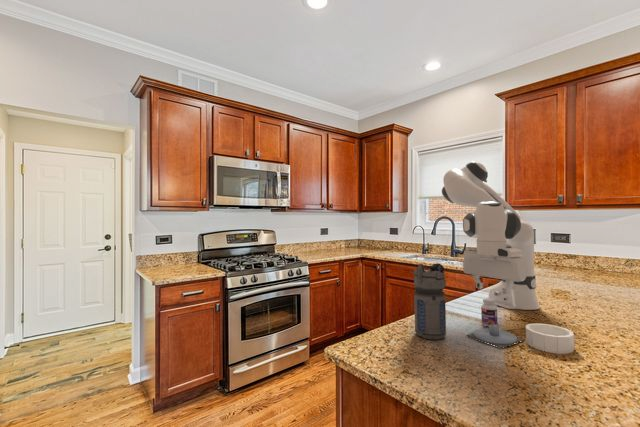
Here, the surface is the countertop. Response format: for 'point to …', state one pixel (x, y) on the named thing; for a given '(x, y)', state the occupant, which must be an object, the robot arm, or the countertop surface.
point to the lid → (495, 335)
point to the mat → (492, 343)
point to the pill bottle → (489, 312)
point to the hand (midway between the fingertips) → (492, 290)
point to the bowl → (550, 338)
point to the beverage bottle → (430, 302)
